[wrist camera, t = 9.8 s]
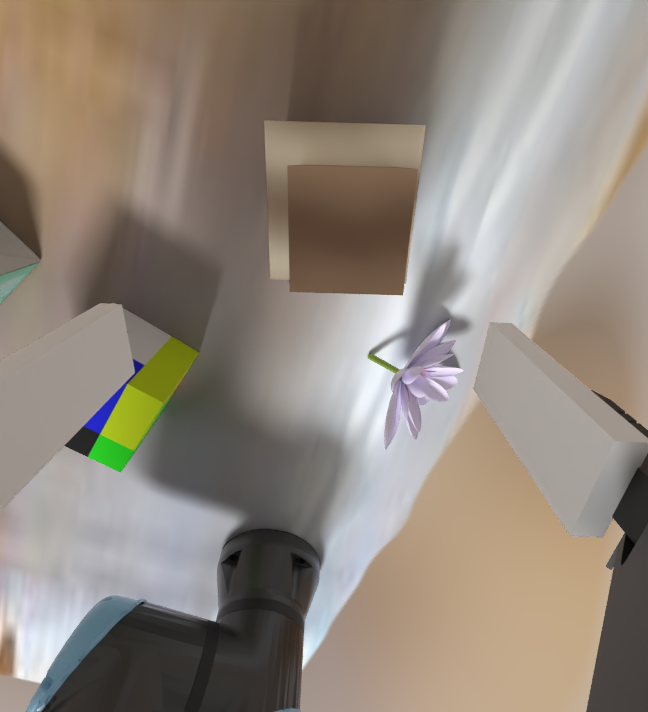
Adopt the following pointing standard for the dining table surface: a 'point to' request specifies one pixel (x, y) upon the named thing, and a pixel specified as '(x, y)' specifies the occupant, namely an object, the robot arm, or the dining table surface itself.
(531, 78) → the dining table surface
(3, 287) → the box
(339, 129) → the tower slab upper
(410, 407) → the water lily
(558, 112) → the dining table surface
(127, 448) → the puzzle toy
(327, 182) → the walnut block
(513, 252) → the dining table surface
